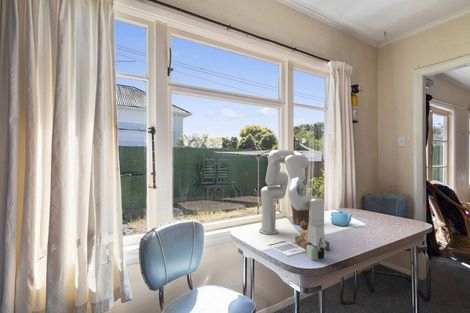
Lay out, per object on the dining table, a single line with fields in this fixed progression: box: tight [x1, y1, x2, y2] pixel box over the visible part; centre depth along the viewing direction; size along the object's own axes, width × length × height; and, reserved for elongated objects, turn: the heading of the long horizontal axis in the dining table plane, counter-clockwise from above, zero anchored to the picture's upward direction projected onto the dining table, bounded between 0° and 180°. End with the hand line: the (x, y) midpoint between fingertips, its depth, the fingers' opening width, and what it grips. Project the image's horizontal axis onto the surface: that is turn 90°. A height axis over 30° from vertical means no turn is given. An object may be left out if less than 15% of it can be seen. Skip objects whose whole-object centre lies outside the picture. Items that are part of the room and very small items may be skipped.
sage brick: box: [306, 244, 327, 261], centre depth 130 cm, size 5×8×6 cm, turn 102°
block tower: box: [294, 229, 330, 252], centre depth 145 cm, size 14×14×8 cm
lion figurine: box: [299, 221, 309, 230], centre depth 164 cm, size 15×5×9 cm, turn 69°
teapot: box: [330, 210, 354, 227], centre depth 191 cm, size 13×11×18 cm
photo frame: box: [266, 240, 307, 257], centre depth 142 cm, size 15×1×18 cm
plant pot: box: [290, 203, 309, 226], centre depth 193 cm, size 16×16×16 cm
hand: (315, 254), depth 130 cm, fingers open, 9 cm apart
